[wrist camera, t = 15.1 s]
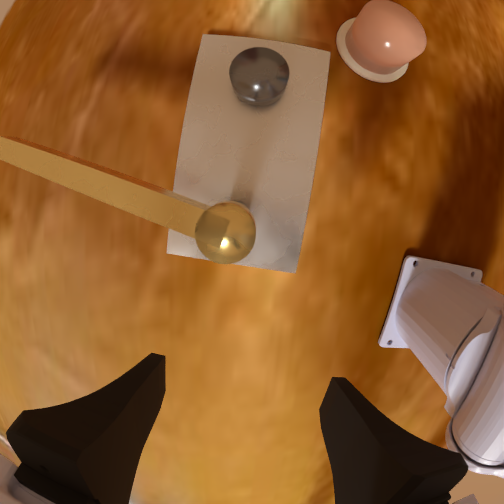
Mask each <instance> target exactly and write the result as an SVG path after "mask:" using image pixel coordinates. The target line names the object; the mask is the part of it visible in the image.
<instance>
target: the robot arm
mask: <svg viewBox="0 0 504 504" xmlns="http://www.w3.org/2000/svg"><path fill="white" fill-rule="evenodd" d="M414 261H416V264H415V265H414V266H413V262H414ZM471 273H472V275H471ZM481 278H482V271H481V270H479V269H475V268H470V267H465V266H460V265H456V264H451V263H446V262H441V261H436V260H431V259H426V258H421V257H415V256H407V257H406V258H405V259H404V261H403V265H402V269H401V273H400V276H399V280H398V283H397V287H396V290H395V293H394V297H393V300H392V303H391V306H390V309H389V312H388V315H387V318H386V321H385V324H384V327H383V330H382V332H381V335H380V338H379V341H378V343H379V345H380V346H381V347H392V348H410V349H411V350H412V352H413V353H414V354H415V355H416V357H417V358H418V359H419V360H420V362H421V363H422V364H423V365H424V367H425V368H426V369H427V371H428V372H429V373H430V374H431V376H432V377H433V378H434V380H435V381H436V382H437V383H438V385H439V386H440V387H441V389H442V390H443V391H444V393H445V394H446V395H447V402H446V404H445V406H444V408H445V409H446V411H447V412H448V413H449V415H450V416H451V420H450V421H449V423H448V426H447V428H446V443H447V446H448V448H449V450H447V449H444V448H441V447H438V446H436V445H433V444H431V443H428V442H426V441H424V440H422V439H420V438H418V437H416V436H414V435H413V434H411V433H409V432H407V431H406V430H404V429H403V428H401V427H400V426H398V425H397V424H395V423H394V422H393V421H391V420H390V419H389V418H387V417H386V416H385V415H384V414H383V413H381V412H380V411H379V410H378V409H377V408H376V407H375V406H373V405H372V404H371V403H370V402H369V401H368V400H367V399H366V398H365V397H364V396H363V395H362V394H361V393H360V392H359V391H358V390H357V389H356V388H355V387H354V386H353V385H352V384H351V383H350V382H349V381H348V380H347V379H346V378H344V377H332V379H331V381H330V384H329V387H328V389H327V392H326V394H325V397H324V399H323V402H322V404H321V406H320V409H319V412H320V422H321V429H322V433H323V437H324V441H325V445H326V449H327V453H328V457H329V460H330V464H331V469H332V474H333V483H334V493H335V504H449V503H448V500H449V499H450V498H451V496H450V494H449V491H450V490H451V489H452V488H453V487H454V486H455V485H456V484H457V483H458V482H459V481H460V480H461V479H462V478H463V477H464V476H465V475H466V473H467V471H468V470H471V471H473V472H476V473H480V474H489V475H490V474H491V475H496V476H499V477H502V478H504V295H502V294H500V293H499V292H497V291H495V290H493V289H492V288H490V287H488V286H486V285H485V284H483V283H481ZM389 340H391V341H390V342H389V343H387V342H388V341H389ZM165 391H166V390H165V356H164V355H159V354H155V353H151V354H149V355H148V356H147V357H146V358H144V359H143V360H142V361H141V362H139V363H138V364H137V365H136V366H134V367H133V368H132V369H130V370H129V371H128V372H126V373H125V374H123V375H122V376H121V377H119V378H118V379H116V380H114V381H113V382H111V383H110V384H108V385H107V386H105V387H103V388H101V389H99V390H97V391H95V392H93V393H91V394H89V395H87V396H84V397H82V398H79V399H76V400H74V401H71V402H68V403H64V404H61V405H57V406H52V407H48V408H42V409H34V410H24V411H23V412H22V413H21V414H20V415H19V416H18V417H17V419H16V420H15V421H14V422H13V424H12V425H11V426H10V427H9V429H8V430H7V432H6V435H7V439H8V441H9V443H10V445H11V447H12V448H13V450H14V451H15V453H16V455H17V456H18V458H19V459H20V461H21V462H22V463H21V464H20V466H19V467H17V466H16V465H15V464H14V463H13V462H12V461H10V460H9V459H8V458H6V457H5V456H3V455H2V454H0V504H129V499H130V494H131V490H132V486H133V482H134V478H135V474H136V470H137V466H138V463H139V459H140V456H141V453H142V450H143V447H144V445H145V443H146V440H147V438H148V436H149V433H150V431H151V429H152V427H153V424H154V422H155V420H156V418H157V415H158V413H159V411H160V408H161V405H162V401H163V398H164V394H165ZM452 504H479V503H478V502H477V500H476V498H475V496H474V494H471V495H469V496H467V497H465V498H462V499H460V500H458V501H456V502H454V503H452Z"/></svg>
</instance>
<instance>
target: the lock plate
mask: <svg viewBox="0 0 504 504" xmlns="http://www.w3.org/2000/svg"><path fill="white" fill-rule="evenodd" d="M330 54H331V52H328V51H324V50H320V49H316V48H311V47H306V46H302V45H296V44H291V43H285V42H279V41H273V40H266V39H258V38H249V37H239V36H227V35H208V34H203V36H202V40H201V44H200V48H199V52H198V56H197V60H196V65H195V69H194V73H193V78H192V82H191V87H190V92H189V97H188V102H187V107H186V112H185V117H184V123H183V129H182V134H181V140H180V146H179V153H178V159H177V166H176V173H175V180H174V188H173V192H174V193H177V194H180V195H182V196H185V197H188V198H190V199H193V200H196V201H198V202H201V203H203V204H206V205H209V206H211V207H212V206H213V205H215V204H217V203H219V202H223V201H235V202H238V203H241V204H243V205H244V206H245V207H247V208H248V209H249V210H250V212H251V213H252V215H253V217H254V219H255V223H256V239H255V243H254V246H253V248H252V250H251V251H250V253H249V254H248V255H247V256H246V257H245V258H244V259H242V260H240V261H238V262H236V263H232V264H237V265H244V266H250V267H257V268H263V269H270V270H276V271H283V272H290V273H296V269H297V264H298V259H299V254H300V249H301V244H302V239H303V233H304V228H305V223H306V217H307V212H308V206H309V201H310V195H311V189H312V183H313V177H314V171H315V165H316V159H317V153H318V146H319V139H320V133H321V126H322V119H323V111H324V104H325V96H326V88H327V80H328V72H329V63H330ZM167 253H169V254H175V255H181V256H187V257H193V258H199V259H206V260H209V259H208V258H207V257H205V256H204V255H203V254H202V252H201V251H200V250H199V248H198V246H197V243H196V240H195V239H194V238H192V237H189V236H187V235H184V234H182V233H179V232H177V231H174V230H172V229H169V233H168V244H167Z"/></svg>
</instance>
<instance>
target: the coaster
mask: <svg viewBox="0 0 504 504" xmlns="http://www.w3.org/2000/svg"><path fill="white" fill-rule="evenodd" d="M355 19H356V18H352V19H349V20H347V21H346V22H344V23H343V24H342V25H341V27H340V29H339V30H338V33H337V36H336V45H337V49H338V52H339V54H340V56H341V58H342V59H343V61H344V62H345V63H346V64H347V66H348V67H349V68H350V69H352V70H353V71H354V72H355V73H357V74H358V75H360V76H361V77H363V78H365V79H368V80H370V81H374V82H379V83H388V82H392V81H395V80H397V79H398V78H400V77H401V76H402V75H403V74H404V73H405V72H406V70H407V68H408V63H407V64H405V65H404V66H402V67H401V68H400V69H398V70H397V71H395V72H394V73H391V74H387V75H381V74H375V73H372V72H370V71H368V70H366V69H364V68H363V67H361V66H360V65H359V64H357V63H356V62H355V61H354V59H353V58H352V57H351V56H350V54H349V52H348V50H347V48H346V44H345V36H346V33H347V31H348V30H349V28H350V27H351V25H352V23H353V22H354V20H355Z"/></svg>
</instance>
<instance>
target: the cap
mask: <svg viewBox="0 0 504 504" xmlns="http://www.w3.org/2000/svg"><path fill="white" fill-rule="evenodd" d="M345 44H346V48H347V50H348V52H349V54H350V56H351V57H352V58H353V59H354V61H355V62H356V63H357V64H359V65H360V66H361V67H363V68H364V69H366V70H368V71H370V72H372V73H375V74H381V75H387V74H391V73H394V72H395V71H397V70H398V69H400V68H401V67H402V66H404V65H405V64H407V63H408V62H410V61H411V60H413V59H414V58H415V57H417V56H418V55H420V54H421V53H422V52H423V51H424V49H425V47H426V35H425V32H424V29H423V27H422V25H421V24H420V22H419V21H418V20H417V18H416V17H415V16H414V15H413V14H412V13H411V12H410V11H408V10H407V9H406V8H404V7H403V6H401V5H399V4H397V3H395V2H392V1H389V0H372V1H369V2H368V3H366V4H365V6H364V7H363V8H362V10H361V11H360V13H359V14H358V16H357V17H356V19H355V20H354V22H353V23H352V25H351V27H350V28H349V30H348V31H347V33H346V36H345Z"/></svg>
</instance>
